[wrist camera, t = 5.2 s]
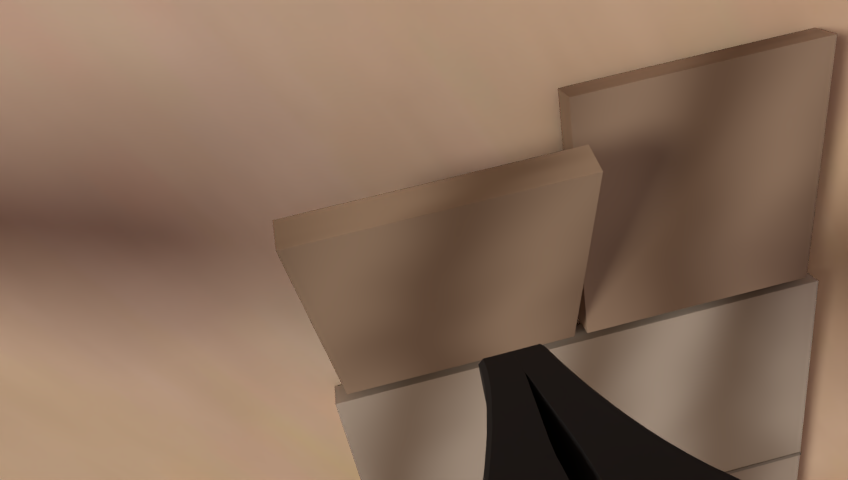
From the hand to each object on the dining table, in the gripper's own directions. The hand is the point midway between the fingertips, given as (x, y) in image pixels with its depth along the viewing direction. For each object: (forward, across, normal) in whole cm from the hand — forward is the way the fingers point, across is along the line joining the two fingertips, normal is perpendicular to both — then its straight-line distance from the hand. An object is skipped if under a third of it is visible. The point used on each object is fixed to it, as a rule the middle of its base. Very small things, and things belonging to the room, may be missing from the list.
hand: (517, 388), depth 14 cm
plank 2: (+9, -9, +1) cm, 13 cm away
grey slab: (+10, -4, +13) cm, 16 cm away
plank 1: (+8, 0, +1) cm, 8 cm away
